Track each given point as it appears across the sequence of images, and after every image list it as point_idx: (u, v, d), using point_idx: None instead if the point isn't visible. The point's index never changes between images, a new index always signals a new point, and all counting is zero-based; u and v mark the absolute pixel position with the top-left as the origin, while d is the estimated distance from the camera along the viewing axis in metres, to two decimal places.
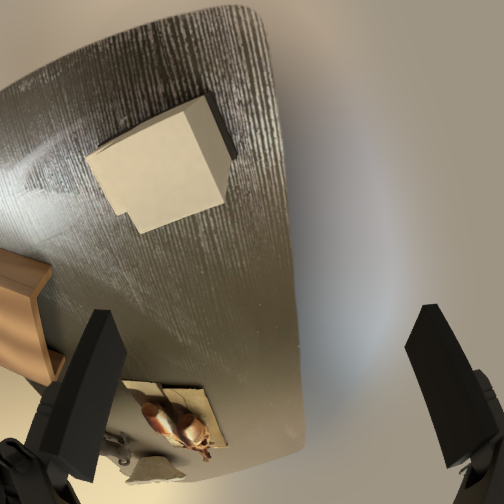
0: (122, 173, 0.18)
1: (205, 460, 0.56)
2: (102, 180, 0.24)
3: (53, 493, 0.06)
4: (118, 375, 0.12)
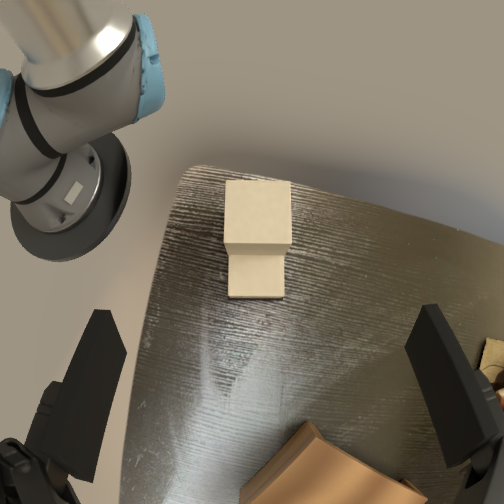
0: (244, 231, 0.29)
1: None
2: (251, 291, 0.33)
3: (53, 493, 0.06)
4: (118, 375, 0.12)
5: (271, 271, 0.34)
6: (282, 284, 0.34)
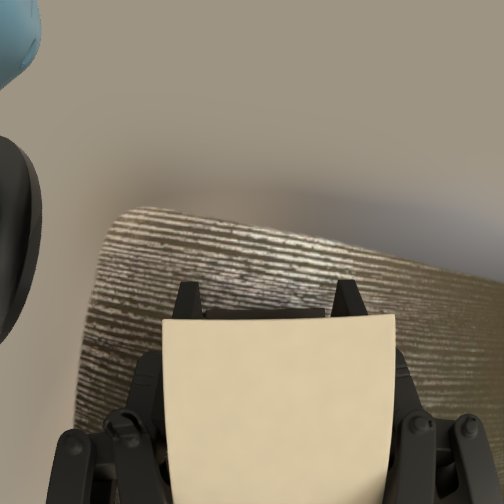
0: (238, 495, 0.07)
1: None
2: None
3: (158, 473, 0.07)
4: None
5: None
6: None
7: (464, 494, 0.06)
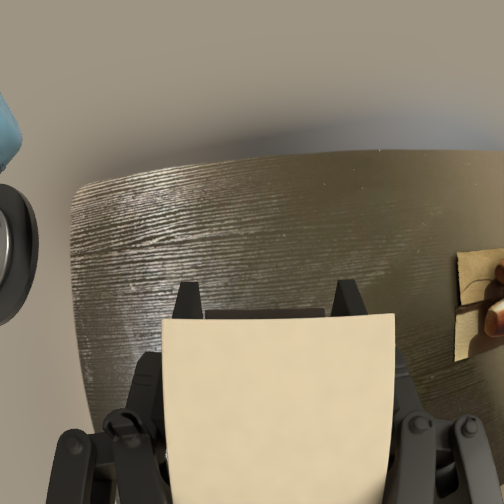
0: (238, 495, 0.07)
1: None
2: None
3: (158, 473, 0.07)
4: None
5: None
6: None
7: (464, 494, 0.06)
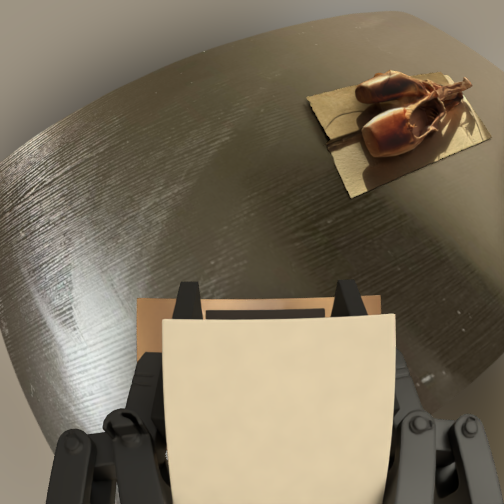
0: (238, 496, 0.07)
1: (465, 81, 0.33)
2: None
3: (158, 473, 0.07)
4: None
5: None
6: None
7: (464, 494, 0.06)
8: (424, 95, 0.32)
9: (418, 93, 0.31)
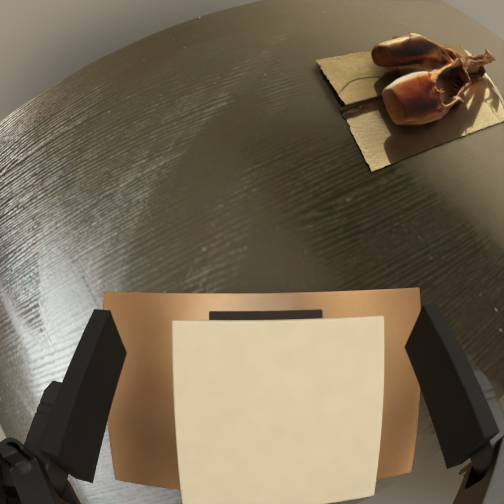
0: (241, 483, 0.08)
1: (488, 53, 0.26)
2: None
3: (53, 493, 0.06)
4: (118, 375, 0.12)
5: None
6: None
7: None
8: (448, 62, 0.25)
9: (441, 59, 0.25)
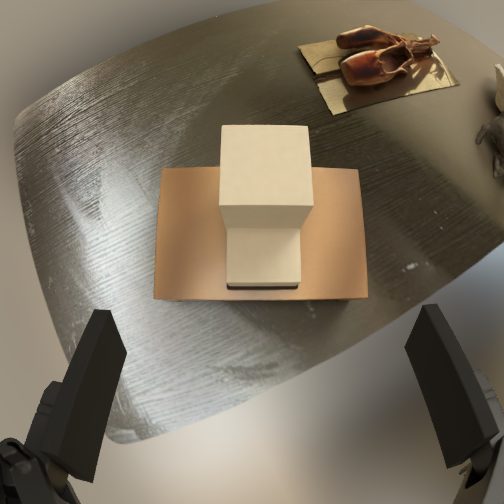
0: (248, 189, 0.20)
1: (433, 37, 0.39)
2: (257, 275, 0.25)
3: (53, 493, 0.06)
4: (118, 375, 0.12)
5: (283, 249, 0.25)
6: (298, 266, 0.25)
7: None
8: (394, 44, 0.37)
9: (388, 42, 0.37)
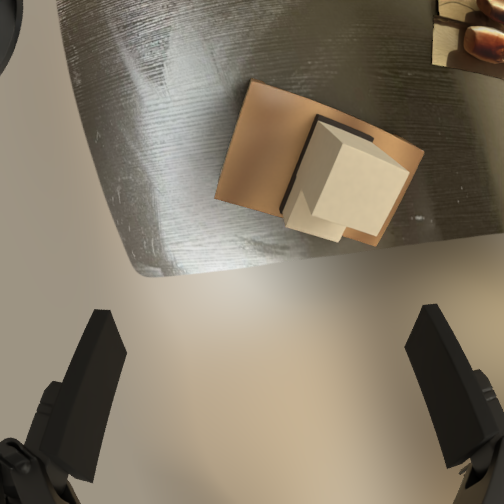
0: (338, 210, 0.24)
1: None
2: (310, 229, 0.31)
3: (53, 493, 0.06)
4: (118, 375, 0.12)
5: None
6: (341, 232, 0.31)
7: None
8: None
9: None
